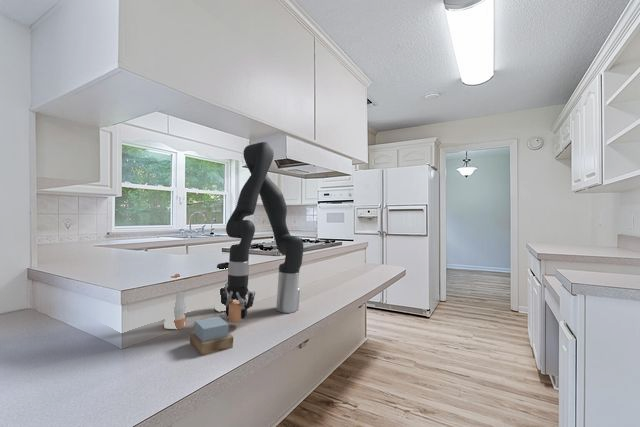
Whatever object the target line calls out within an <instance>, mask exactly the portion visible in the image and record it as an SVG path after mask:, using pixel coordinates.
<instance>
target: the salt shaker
mask: <svg viewBox="0 0 640 427" xmlns="http://www.w3.org/2000/svg"><path fill="white" fill-rule="evenodd" d="M180 275H181V274H180V273H175V275H171V276H170V277H171V278H177V277H180ZM184 299H185V292H179V293H177V294H176V302H175V307H174V314H175V315H174V316H175V320H174V323H175V326H176V328H177V329H176V330H175V331H177V330H181V329H183V328H185V327H184V322H185V323H186V319H185V317H184V312H185V313H186V301H185V302H184Z"/></svg>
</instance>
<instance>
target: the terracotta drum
mask: <svg viewBox="0 0 640 427" xmlns="http://www.w3.org/2000/svg"><path fill="white" fill-rule="evenodd" d="M241 309H242V307H241V304H240V303H239V300H233V302H230V303H229V315H228V316H227V317H228V322H230V323H239V322H242V321H244V320H245V318H244V319H241Z"/></svg>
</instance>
